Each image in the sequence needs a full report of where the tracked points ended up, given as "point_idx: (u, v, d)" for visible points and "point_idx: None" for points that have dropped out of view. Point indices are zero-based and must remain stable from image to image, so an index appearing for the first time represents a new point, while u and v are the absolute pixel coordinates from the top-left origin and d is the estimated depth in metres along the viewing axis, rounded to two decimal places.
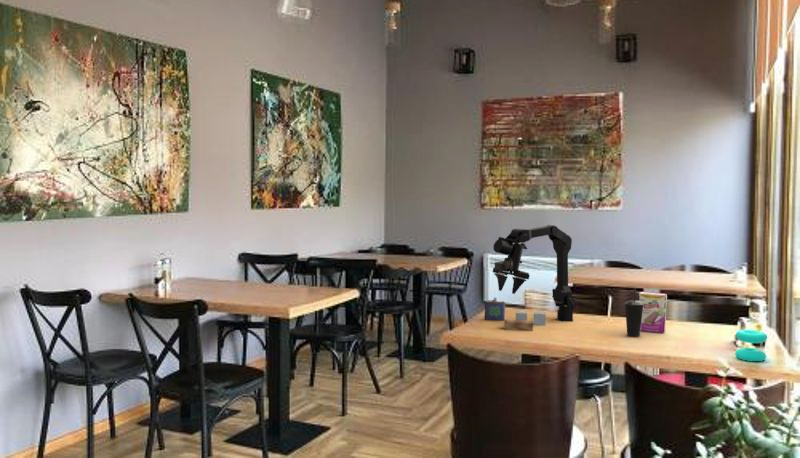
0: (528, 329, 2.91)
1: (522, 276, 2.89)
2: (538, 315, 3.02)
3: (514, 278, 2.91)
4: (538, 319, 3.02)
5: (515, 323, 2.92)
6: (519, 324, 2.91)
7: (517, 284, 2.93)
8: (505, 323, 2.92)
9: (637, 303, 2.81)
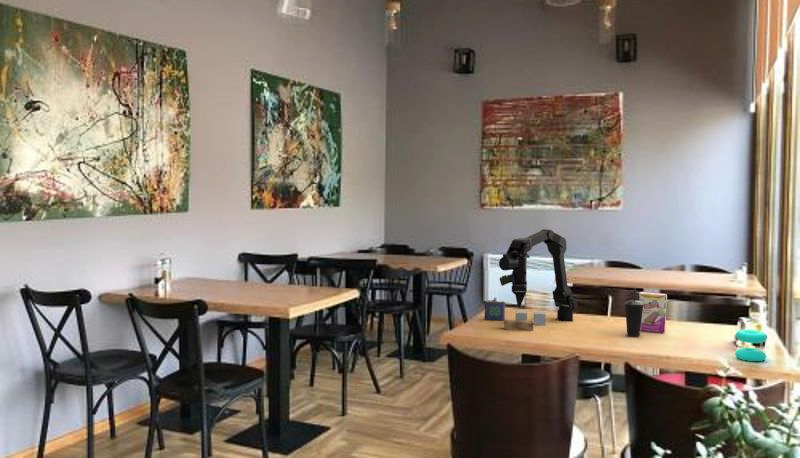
0: (528, 329, 2.91)
1: (516, 289, 2.84)
2: (538, 315, 3.02)
3: None
4: (538, 319, 3.02)
5: (515, 323, 2.91)
6: (519, 324, 2.91)
7: (519, 297, 2.87)
8: (505, 323, 2.92)
9: (637, 303, 2.81)
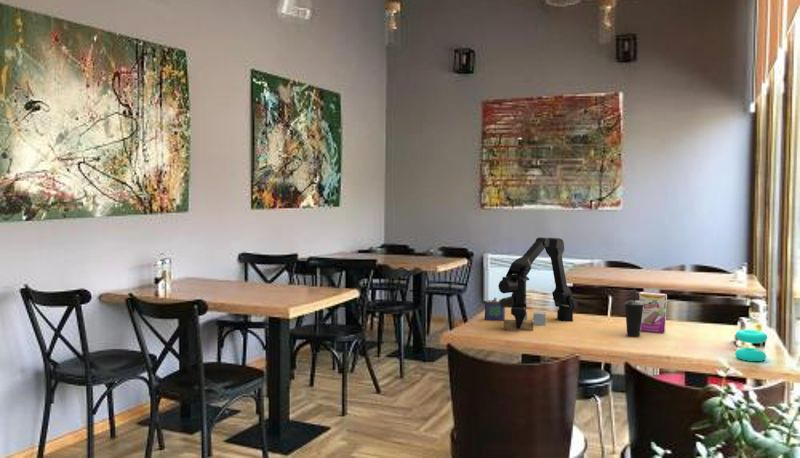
0: (529, 329, 2.91)
1: (515, 312, 2.84)
2: (538, 315, 3.02)
3: (512, 314, 2.89)
4: (538, 319, 3.02)
5: None
6: None
7: (518, 319, 2.90)
8: (506, 323, 2.92)
9: (637, 303, 2.81)
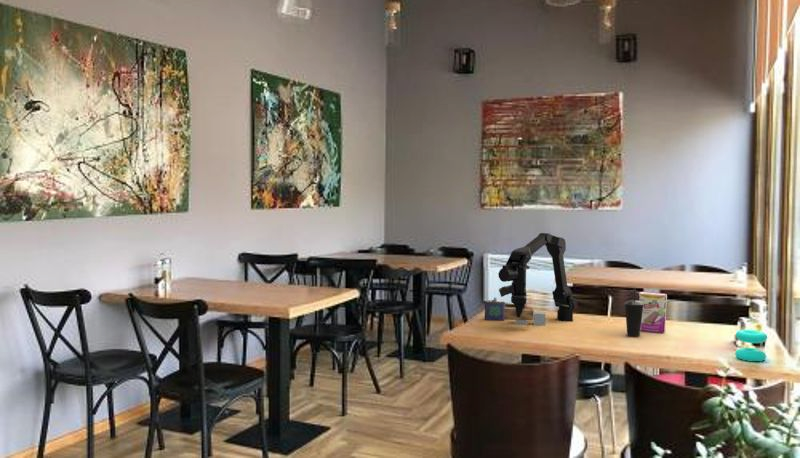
0: (529, 317, 2.91)
1: (515, 301, 2.84)
2: (538, 315, 3.02)
3: (512, 302, 2.89)
4: (538, 319, 3.02)
5: None
6: None
7: (519, 307, 2.89)
8: (506, 312, 2.91)
9: (637, 303, 2.81)
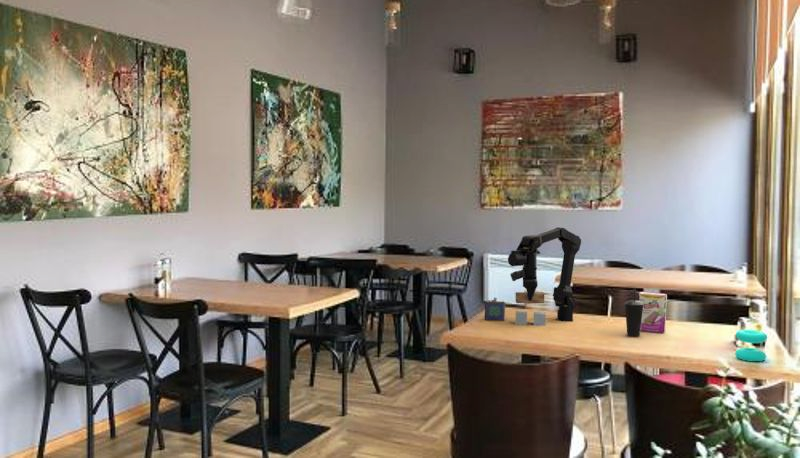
0: (540, 300, 3.01)
1: (527, 285, 2.94)
2: (538, 315, 3.02)
3: (524, 286, 2.99)
4: (538, 319, 3.02)
5: (527, 295, 3.01)
6: None
7: (530, 291, 2.99)
8: (517, 295, 3.01)
9: (637, 303, 2.81)
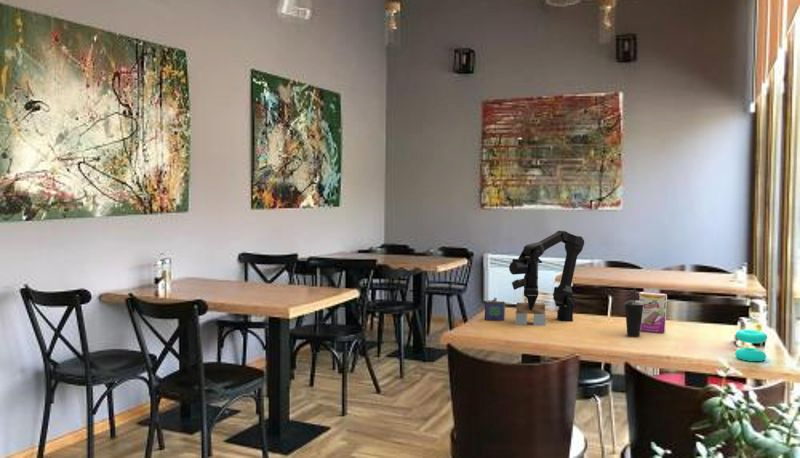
0: (540, 311, 3.02)
1: (528, 293, 2.96)
2: (538, 315, 3.02)
3: (524, 295, 2.99)
4: (538, 319, 3.02)
5: (528, 305, 3.03)
6: None
7: (531, 300, 2.99)
8: (518, 305, 3.03)
9: (637, 303, 2.81)
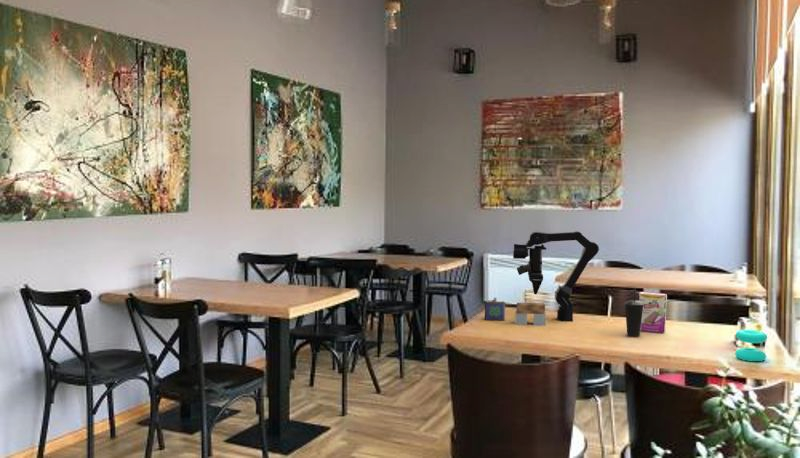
0: (540, 311, 3.02)
1: (533, 278, 3.07)
2: (538, 315, 3.02)
3: (530, 280, 3.11)
4: (538, 319, 3.02)
5: (528, 305, 3.03)
6: (532, 306, 3.03)
7: (536, 285, 3.11)
8: (518, 305, 3.03)
9: (637, 303, 2.81)
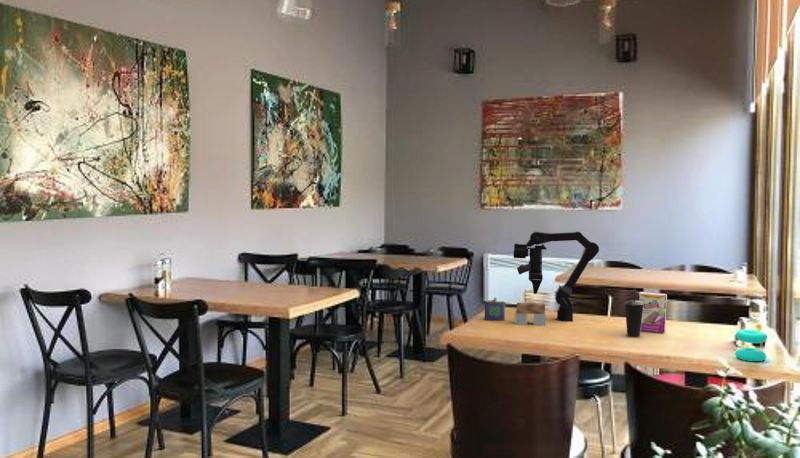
0: (540, 311, 3.02)
1: (533, 277, 3.08)
2: (538, 315, 3.02)
3: None
4: (538, 319, 3.02)
5: (528, 305, 3.03)
6: (532, 306, 3.03)
7: (535, 285, 3.11)
8: (518, 305, 3.03)
9: (637, 303, 2.81)
